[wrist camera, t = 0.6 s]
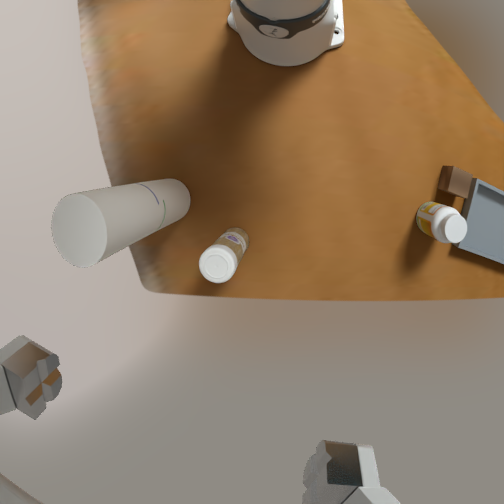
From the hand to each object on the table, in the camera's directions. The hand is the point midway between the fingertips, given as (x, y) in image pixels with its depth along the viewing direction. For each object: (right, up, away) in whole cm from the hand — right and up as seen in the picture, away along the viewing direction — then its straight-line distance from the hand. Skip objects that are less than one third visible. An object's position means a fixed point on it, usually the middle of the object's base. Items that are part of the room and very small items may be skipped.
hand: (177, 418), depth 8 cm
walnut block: (+35, +16, +36) cm, 53 cm away
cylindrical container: (-11, +13, +43) cm, 46 cm away
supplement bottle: (+31, +10, +38) cm, 50 cm away
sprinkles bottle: (-1, +7, +43) cm, 44 cm away
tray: (+45, +10, +36) cm, 59 cm away
